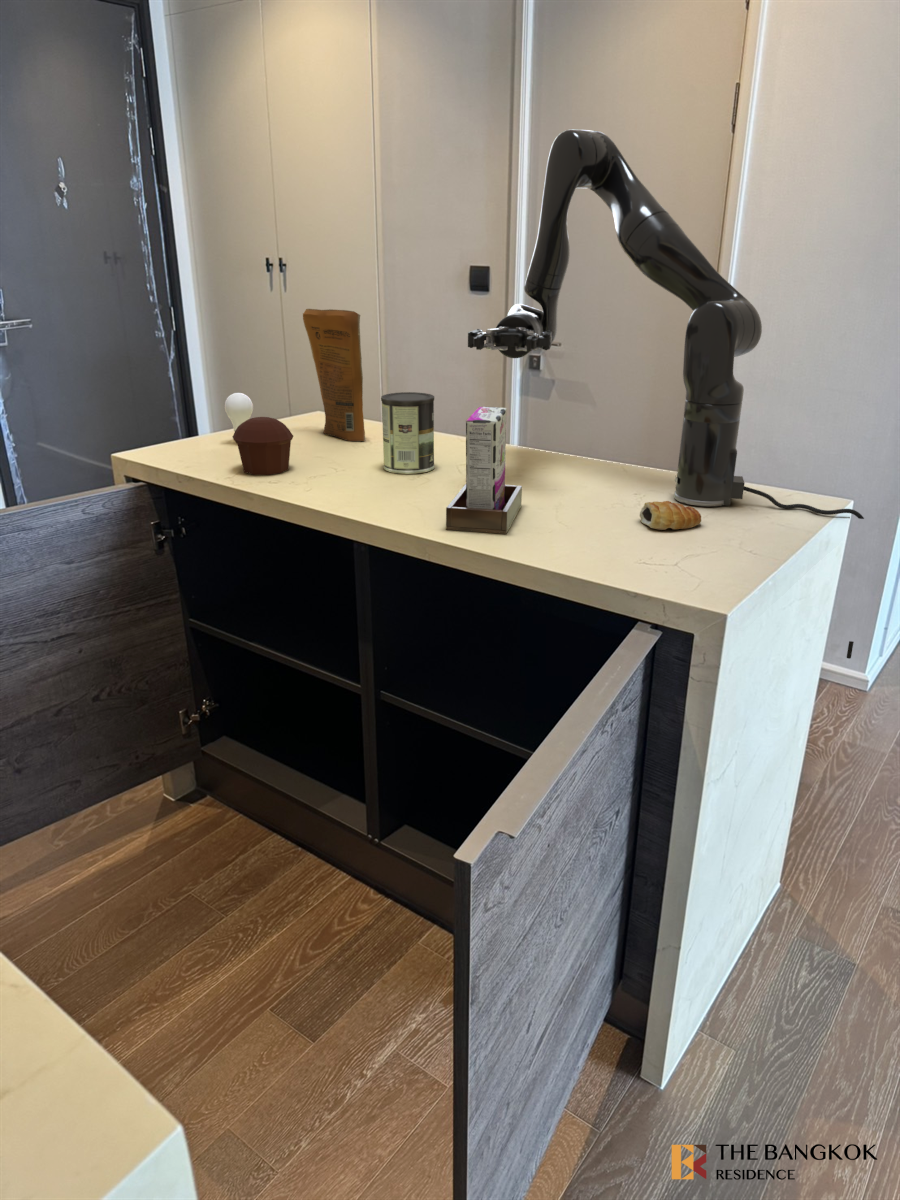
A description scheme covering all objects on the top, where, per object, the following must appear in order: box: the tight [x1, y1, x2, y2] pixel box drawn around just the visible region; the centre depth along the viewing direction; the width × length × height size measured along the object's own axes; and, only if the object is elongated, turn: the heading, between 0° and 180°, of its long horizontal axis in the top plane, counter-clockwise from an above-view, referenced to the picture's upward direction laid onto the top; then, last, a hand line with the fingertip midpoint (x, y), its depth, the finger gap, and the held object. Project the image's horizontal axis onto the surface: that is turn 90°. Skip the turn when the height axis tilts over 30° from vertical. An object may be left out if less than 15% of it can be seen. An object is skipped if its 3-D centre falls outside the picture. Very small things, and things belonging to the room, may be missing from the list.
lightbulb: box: [224, 392, 254, 432], centre depth 190 cm, size 6×6×11 cm
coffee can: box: [380, 391, 435, 475], centre depth 169 cm, size 10×10×14 cm
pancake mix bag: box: [302, 308, 366, 442], centre depth 193 cm, size 7×19×28 cm, turn 40°
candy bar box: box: [465, 406, 507, 510], centre depth 138 cm, size 11×5×16 cm, turn 168°
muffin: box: [232, 416, 294, 476], centre depth 168 cm, size 12×11×10 cm
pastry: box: [639, 500, 702, 531], centre depth 137 cm, size 9×7×4 cm
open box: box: [445, 483, 523, 535], centre depth 140 cm, size 10×16×4 cm, turn 167°
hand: (503, 344), depth 143 cm, fingers open, 8 cm apart
